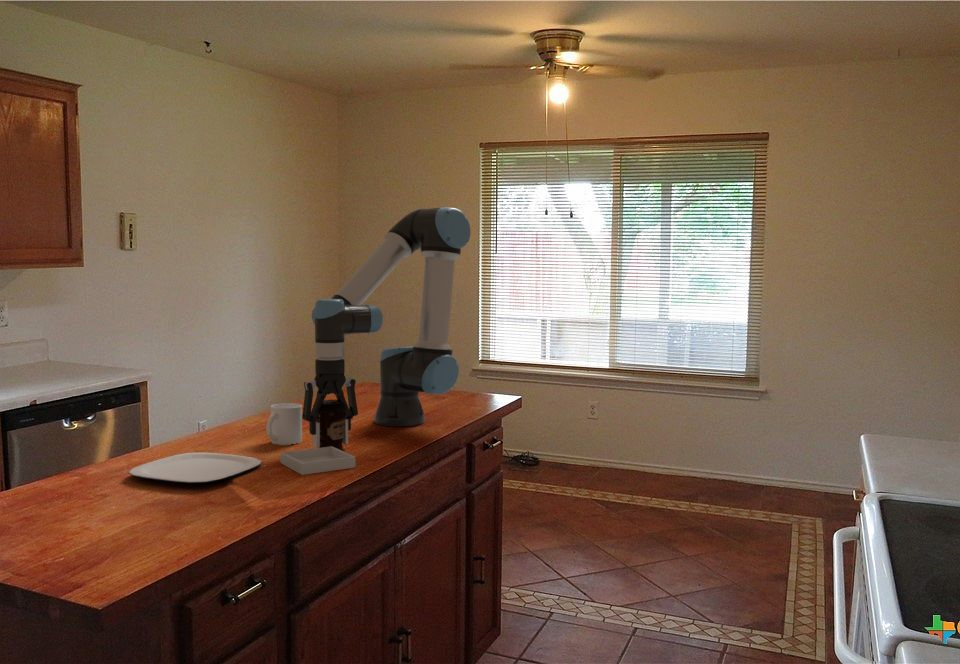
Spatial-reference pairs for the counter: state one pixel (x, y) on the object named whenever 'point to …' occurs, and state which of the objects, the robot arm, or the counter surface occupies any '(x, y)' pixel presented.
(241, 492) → the counter surface
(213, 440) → the counter surface
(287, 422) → the mug
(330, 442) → the coffee cup
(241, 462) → the plate
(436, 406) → the counter surface
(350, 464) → the gray square tray
